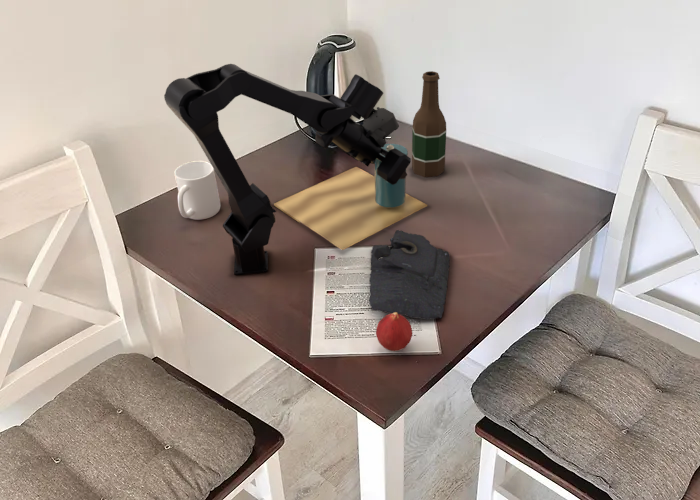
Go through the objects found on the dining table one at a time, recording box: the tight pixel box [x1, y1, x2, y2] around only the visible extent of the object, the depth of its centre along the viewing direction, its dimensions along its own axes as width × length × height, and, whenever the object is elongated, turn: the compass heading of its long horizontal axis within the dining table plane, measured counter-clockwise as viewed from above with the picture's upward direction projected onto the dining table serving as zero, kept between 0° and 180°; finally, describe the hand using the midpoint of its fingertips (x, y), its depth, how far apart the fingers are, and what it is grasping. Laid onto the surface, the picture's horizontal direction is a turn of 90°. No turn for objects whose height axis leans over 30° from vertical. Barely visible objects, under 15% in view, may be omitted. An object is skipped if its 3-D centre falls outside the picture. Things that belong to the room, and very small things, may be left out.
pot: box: [373, 143, 409, 208], centre depth 139 cm, size 7×7×13 cm
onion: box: [375, 312, 413, 352], centre depth 106 cm, size 6×6×8 cm
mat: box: [273, 166, 428, 251], centre depth 144 cm, size 24×24×1 cm
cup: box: [173, 160, 221, 221], centre depth 141 cm, size 8×12×10 cm
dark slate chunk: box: [368, 229, 451, 321], centre depth 121 cm, size 15×22×5 cm
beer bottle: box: [411, 70, 447, 178], centre depth 148 cm, size 8×8×24 cm
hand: (395, 169), depth 139 cm, fingers closed on pot, 6 cm apart
